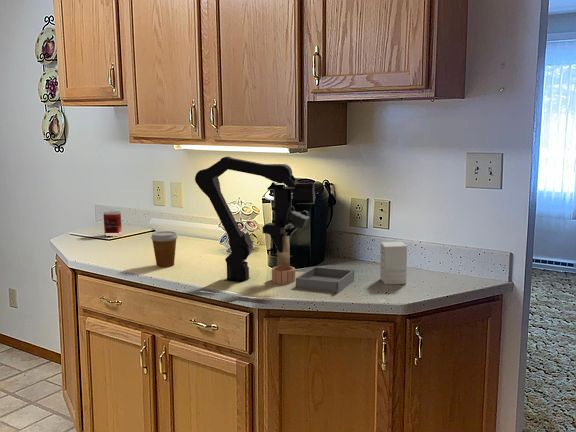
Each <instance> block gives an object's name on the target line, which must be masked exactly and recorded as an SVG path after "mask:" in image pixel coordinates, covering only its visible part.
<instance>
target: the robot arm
mask: <svg viewBox="0 0 576 432" xmlns="http://www.w3.org/2000/svg"><path fill="white" fill-rule="evenodd" d="M227 171H234V172H240V173H245V174H248V175H249V174H250V175H255V176H260V177H264V178H265V179H267V180H269V181H271V183H270V185H269V187H267V189H266V190H268V191H273V206H272V207H271V211H273V219H272V220H271V222H269V223H265V224H264V225H263V226H262V234H265V235H266V234H267V235H269V236H270V238H271V239H272V241H273V242H274V245H275V247H276V249H278V251H279V252H280V253H282V252H283V244H284V237H285V235H289V241H290V242H291V239H292V235H293V233H295V232H296V230H298V228H299V229H304V228H306V227H307V226H308V223H309V222H310V221H311V219H310V214H309V213H310V212H309V211H307V210H302V211H301V212H300V211H296V208H295V207H294V205H292V201H294V202H295V203H296V204H297V205H300V204H302V205H315V202H316V191H315V186H314V185H315V182H299V181H298V180H297V179H296V177H295V176H294V175H293V170H292V168H291V167H290V165H288V164H286V163H269V164H268V163H261V162H255V161H249V160H245V159H240V158H235V157H231V156H224V157H222V158H220V160H218V161H216V163H214V164H212V165H211V166H209V167H207V168H203V169H200V170H198V171H197V172H196V174H195V176H194V181H195V183H196V185H197V186H198V188H199V189H200V191H202V193H203V194H205V196H206V197H208V199H209V201H210V203H211V205H212V208H213V209H214V211H215V213H216V214H217V217H218V218H219V221H220V223H221V224H222V227H223V229H224V230H225V232H226V234H227V236H228V242H229V243H228V245H229V248H230V250H231V253H229V255H228V256H226V258H225V263H226V279H224V281H225V282H232V283H233V282H235V283H243V282H245V281H248V280H249V279H251V277H250V267H249V266H248V261H247V259H248V257H249V256H250V255H251V254H252V253H253V250H254V245H253V244H254V241H253V240H252V238H251V235H250V233H249V232H248V231H247V232H245V233H244V232H243V231H242V230H241V229H240V227H239V225H238V222H237V221H236V218H235V217H234V215H233V213H232V211H231V209H230V207H229V205H228V202H227V201H226V199H225V197H224V195H223V193H222V191H221V190H222V189H221V184H220V180H219V177H220V176H222V175H223V174H224V173H225V172H227ZM276 183H277V184H276ZM295 226H296V227H295Z"/></svg>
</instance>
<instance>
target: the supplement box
mask: <svg viewBox="0 0 576 432" xmlns="http://www.w3.org/2000/svg"><path fill="white" fill-rule="evenodd" d="M407 257H408V246H407V245H406V244H405V243H404V242H403V241H380V266H379V267H380V271H379V273H380V274H379V276H380V280H381V281H382V283H383V284H384V285H405V284H407V270H408V269H407V261H408V260H407Z"/></svg>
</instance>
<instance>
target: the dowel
mask: <svg viewBox="0 0 576 432" xmlns="http://www.w3.org/2000/svg"><path fill="white" fill-rule="evenodd" d="M290 243H291V240H290V241H289V235H285V237H284V244H283V252H282V253H280V252H279V251H278V249H277V248H276V249H277V250H276V251H277V252H276V253H277V254H276V255H277V259H276V261H277V266H278V267H281V268H286V267H291V264H290V263H291V262H290V261H291V257H290V256H291V255H290V251H291V249H290V247H291V246H290Z"/></svg>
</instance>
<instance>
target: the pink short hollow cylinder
mask: <svg viewBox="0 0 576 432" xmlns="http://www.w3.org/2000/svg"><path fill="white" fill-rule="evenodd" d="M271 282H272V283H274V284H278V285H279V284H281V285H289V284H292V283H296V268H295V267H294V266H290V267H286V268H281V267H278V265H277V266H274V267H271Z"/></svg>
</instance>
